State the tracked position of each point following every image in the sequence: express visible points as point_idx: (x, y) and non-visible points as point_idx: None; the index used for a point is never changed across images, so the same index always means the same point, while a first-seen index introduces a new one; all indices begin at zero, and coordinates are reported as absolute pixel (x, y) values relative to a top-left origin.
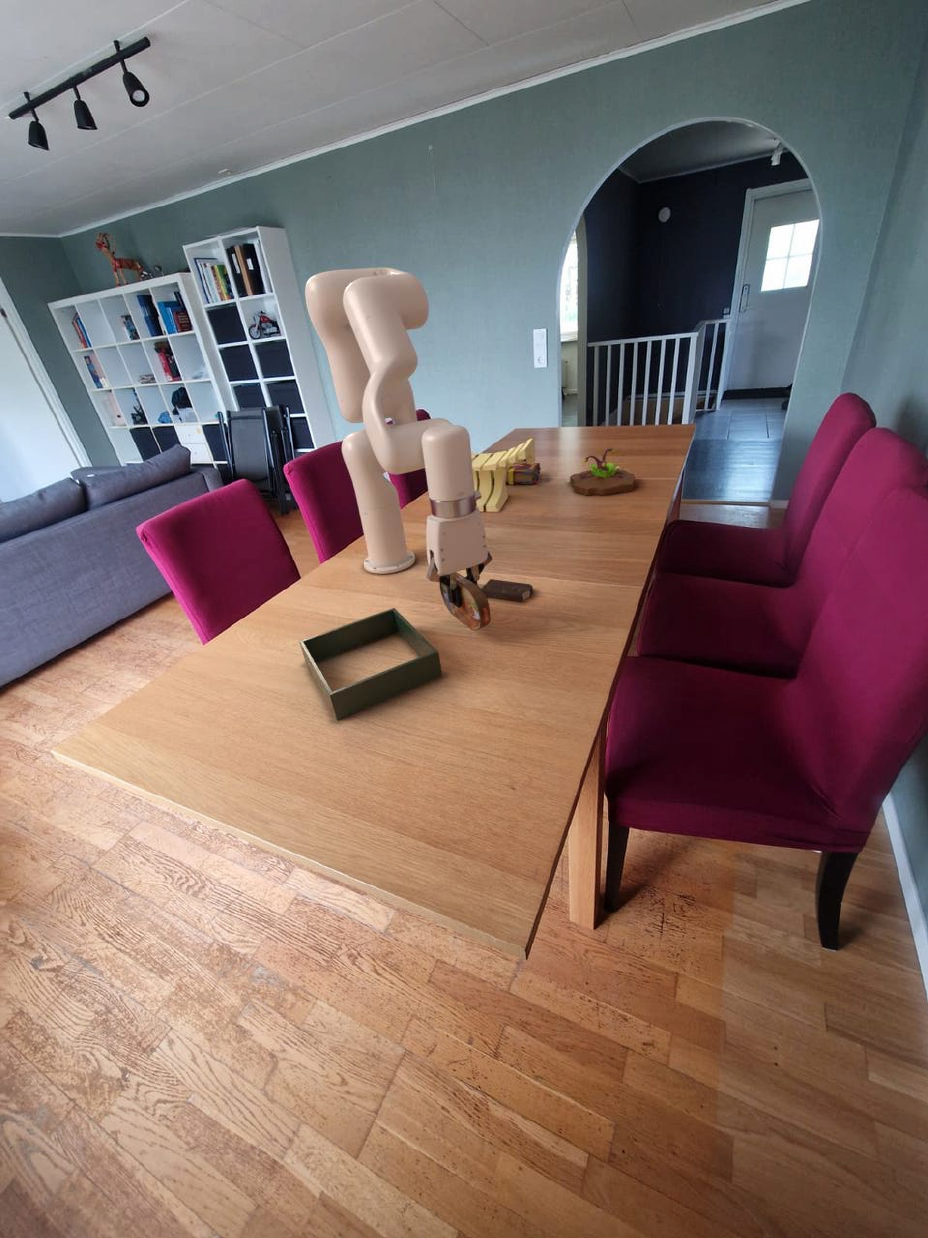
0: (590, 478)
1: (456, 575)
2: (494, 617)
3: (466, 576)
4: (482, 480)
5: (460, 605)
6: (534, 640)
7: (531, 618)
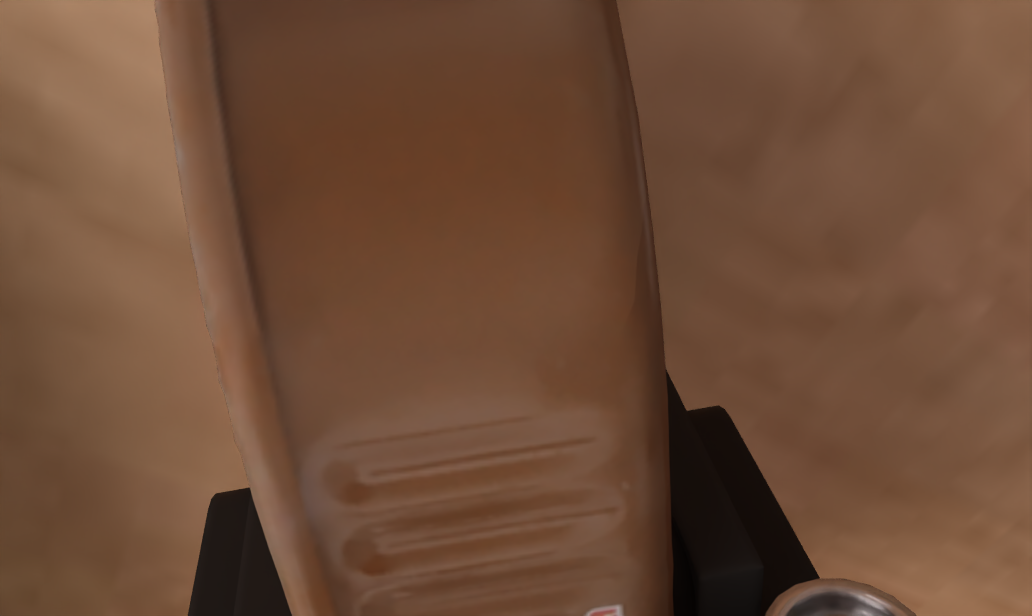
0: None
1: (539, 569)
2: (776, 174)
3: (744, 573)
4: None
5: None
6: None
7: (1004, 344)
